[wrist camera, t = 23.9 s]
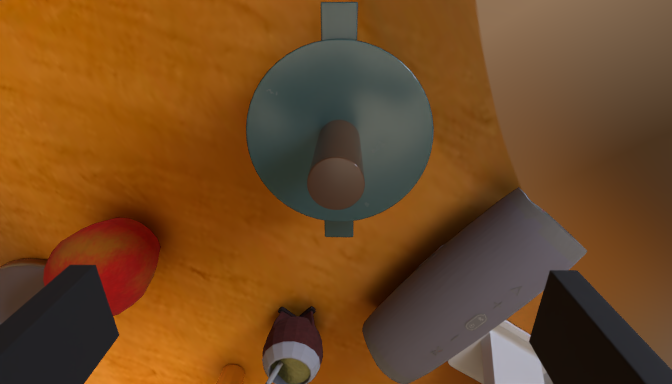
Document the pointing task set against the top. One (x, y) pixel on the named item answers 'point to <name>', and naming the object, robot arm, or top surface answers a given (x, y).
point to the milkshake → (231, 375)
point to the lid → (339, 130)
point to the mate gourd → (292, 349)
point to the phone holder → (502, 358)
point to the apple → (111, 258)
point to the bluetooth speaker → (468, 287)
